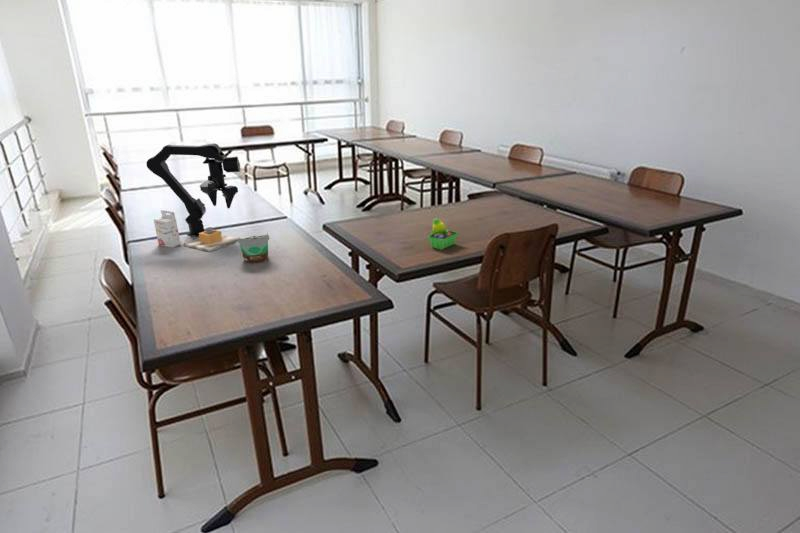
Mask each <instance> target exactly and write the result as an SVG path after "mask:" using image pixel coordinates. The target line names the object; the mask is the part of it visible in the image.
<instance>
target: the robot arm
mask: <svg viewBox="0 0 800 533" xmlns="http://www.w3.org/2000/svg"><path fill="white" fill-rule="evenodd" d="M171 155H173V156H199V157H203V158H205V159H204V161H203V162H202V164H203V165H205V164H206V165H207V164H208V171H209V172H208V173H209V175H208V176H207V180H205V181H204V182H202V183H200V185H199V188H200V191H201V192H202V193H204V194H206V195H207V196H208V198H209V200H210V201H211V204H212V205H213V206H214V207H216V206H217V201H218V200H217V198H218V196H217V195H218V191H220V192H221V193H222V195H221V196H222V197H224V200H225V204H226V207H227V209H230V208H231V207H232V206H231V205H232V203H233V200H234V198H235V196H236V194H237V193H239V189H238V187H237V185H228V183H226V182H225V178H226V177H227V176H226V175H227V174H228V173H240V172H241V163H240V160H239V157H238V156H236V155H235V156H228V157H227V155H226V154H225V153H224V152H223V151H222V148H221V146H220V145H219V144H217V143H209V144H208V143H207V144H202V145H176V144H167V145H164V146H163V147H162V149H161V150H160V151H159V152H157V154H156V155H154V156H152V157H150V158H149V159H147V161H146V167H147V169H148V170H149V171H150V172H152V173H153V174H154V175H156V176H157V177H159V178H161V179H162V181H164V183H165V184H166V185H167V186H168V187H169V188H170V189H171V190H172V191H173V193H174V194H175V195H176V196H177V197H178V198H179V199H180V201H181V202H182V203H183V204H184V206H185V209H186V212H187V213H188V216H187V217H186V218H185V220H184V221H185V222H186V224H188V231H189V232H187V233H186V235H189V236H193V237H197V236H199V233H201V232H204V231H205V228H204V222H203V220H202V219H203V216H204V215H205V214H206V213H207V209H206V206H205V205H206V204H205V203H203V201H202V199H200V198H197V199H196V198H194V197H193V196H192V195H191V193H189V192H188V190H186V188H185V187H184V186H183V185H182V184H181V183H180V181H178V178H176V177H175V176H174V174H173V173H172V172H171V171H170V169H169V166H168V164H167V162H166V161H167V160H168V159H169V158H170V157H171ZM224 172H226V173H227V174H226V173H225V174H224Z"/></svg>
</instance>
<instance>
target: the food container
mask: <svg viewBox="0 0 800 533" xmlns="http://www.w3.org/2000/svg"><path fill="white" fill-rule="evenodd" d="M237 238H238V241H237V244H238V245H239V247H240V249H241V254H242V257H243V261H244V262H245V263H248V264H258V263H262V262H266V261H267V260H268V259H269V240H270V238H271V237H270V235H269V234H268V232H267V233H266V234H264V235H263V234H262V235H253V236H248V237H246V238H240V237H237Z"/></svg>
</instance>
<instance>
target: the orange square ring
mask: <svg viewBox="0 0 800 533" xmlns="http://www.w3.org/2000/svg"><path fill="white" fill-rule="evenodd" d="M212 230H213V233H212V234H207V230H204V232H201V233H199V235H198V236H199V237H198V238H200V242H202V243H207V244H213V243H215V242H218V241H221V240H222V236H221V235H222V231H221V230H216V229H212Z"/></svg>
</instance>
